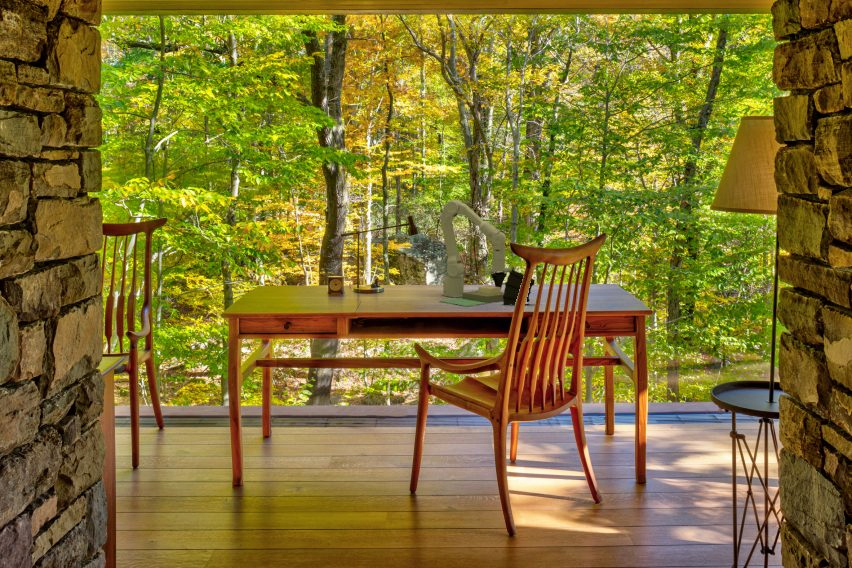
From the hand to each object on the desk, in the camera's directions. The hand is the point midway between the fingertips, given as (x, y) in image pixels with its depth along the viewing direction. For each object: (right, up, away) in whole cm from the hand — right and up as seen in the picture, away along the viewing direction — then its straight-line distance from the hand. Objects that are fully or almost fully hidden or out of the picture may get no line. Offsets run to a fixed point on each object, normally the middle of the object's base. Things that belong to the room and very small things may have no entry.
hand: (498, 289), depth 357 cm
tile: (-4, 0, -4) cm, 6 cm away
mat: (-17, -6, -13) cm, 22 cm away
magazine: (+7, -7, -18) cm, 21 cm away
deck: (-6, -5, -4) cm, 9 cm away
